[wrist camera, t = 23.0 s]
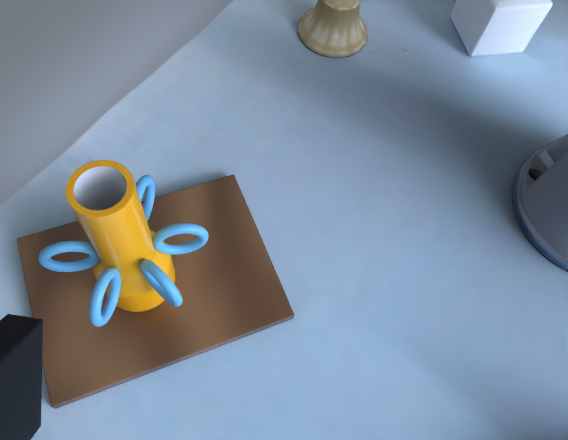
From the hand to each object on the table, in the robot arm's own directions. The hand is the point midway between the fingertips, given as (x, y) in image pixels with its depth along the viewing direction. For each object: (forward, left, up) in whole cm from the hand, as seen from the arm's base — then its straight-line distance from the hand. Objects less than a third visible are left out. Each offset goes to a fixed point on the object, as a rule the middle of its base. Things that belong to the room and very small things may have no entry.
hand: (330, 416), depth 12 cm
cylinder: (+4, -18, -31) cm, 36 cm away
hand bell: (-25, -41, -32) cm, 58 cm away
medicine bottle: (-43, -35, -32) cm, 64 cm away
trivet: (+3, -18, -32) cm, 36 cm away
